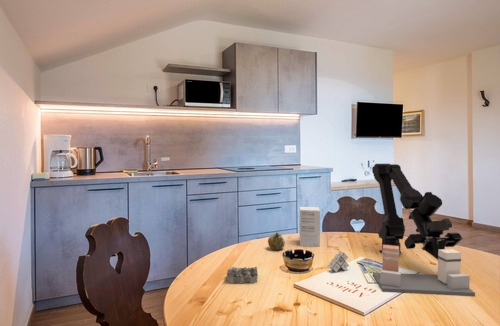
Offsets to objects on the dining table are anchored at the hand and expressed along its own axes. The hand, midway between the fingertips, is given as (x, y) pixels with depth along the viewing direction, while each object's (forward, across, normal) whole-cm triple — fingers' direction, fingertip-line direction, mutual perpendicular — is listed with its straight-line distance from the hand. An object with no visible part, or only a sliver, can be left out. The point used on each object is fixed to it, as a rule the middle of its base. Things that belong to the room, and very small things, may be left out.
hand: (444, 263), depth 115 cm
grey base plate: (+5, -9, +4) cm, 11 cm away
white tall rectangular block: (+5, 0, +2) cm, 6 cm away
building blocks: (-7, -30, +17) cm, 35 cm away
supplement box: (-32, -30, +41) cm, 60 cm away
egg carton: (-4, -66, +14) cm, 68 cm away
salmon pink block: (0, -16, +7) cm, 18 cm away
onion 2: (-27, -47, +37) cm, 66 cm away
